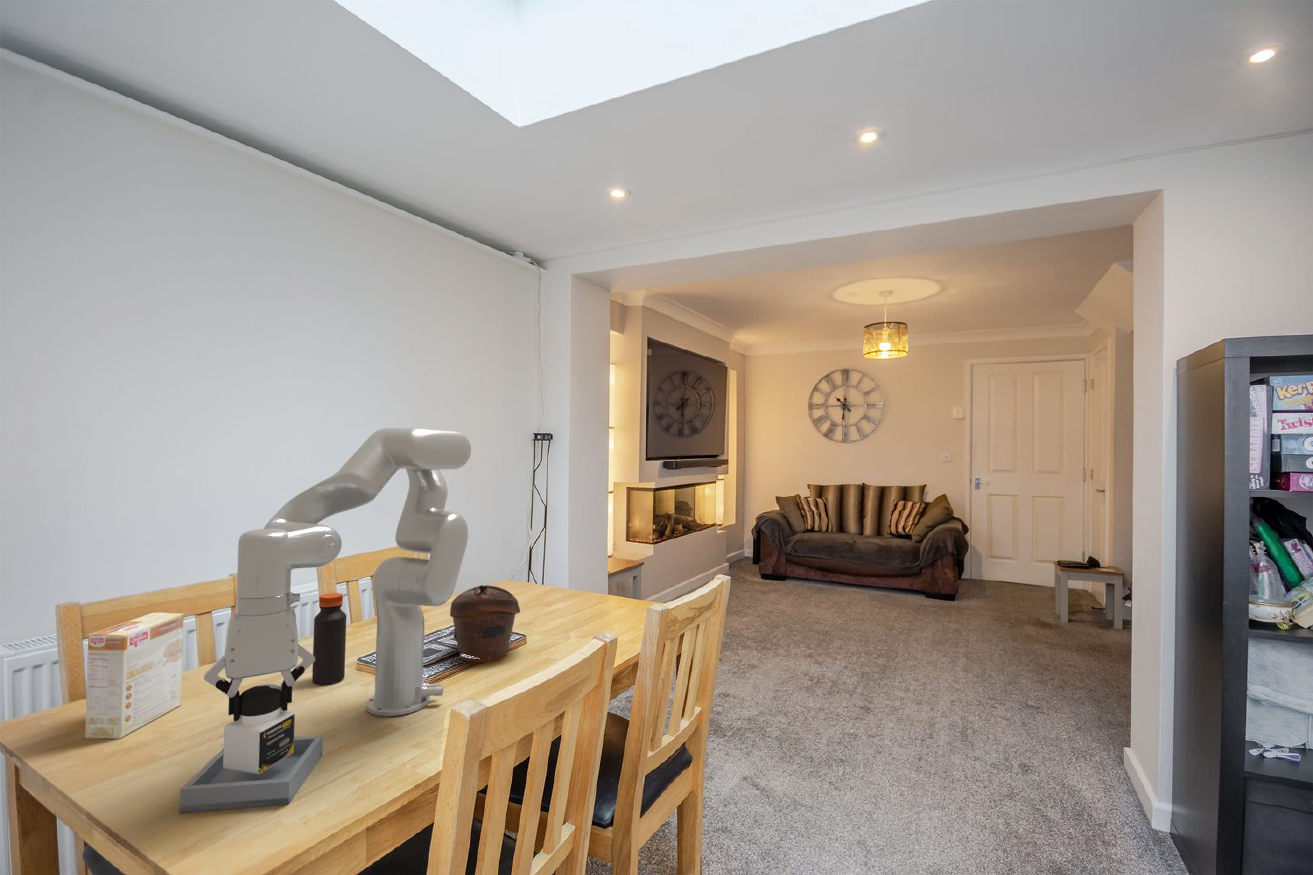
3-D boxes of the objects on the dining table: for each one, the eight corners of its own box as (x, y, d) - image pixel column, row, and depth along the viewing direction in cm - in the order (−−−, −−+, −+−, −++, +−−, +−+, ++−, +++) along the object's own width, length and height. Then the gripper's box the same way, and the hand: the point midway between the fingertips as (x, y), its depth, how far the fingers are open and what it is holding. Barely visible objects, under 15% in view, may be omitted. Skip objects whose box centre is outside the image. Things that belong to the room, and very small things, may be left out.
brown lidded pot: (485, 637, 176) (486, 576, 176) (533, 652, 164) (534, 587, 164) (431, 655, 161) (433, 588, 161) (480, 673, 150) (482, 601, 150)
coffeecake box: (148, 704, 127) (152, 611, 128) (182, 705, 127) (186, 612, 128) (81, 738, 112) (86, 633, 113) (120, 739, 112) (124, 634, 113)
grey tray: (322, 755, 108) (323, 735, 109) (288, 803, 94) (289, 781, 94) (229, 761, 106) (230, 741, 106) (179, 812, 91) (180, 789, 91)
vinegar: (304, 683, 140) (307, 597, 140) (328, 673, 146) (331, 590, 147) (328, 687, 138) (331, 600, 138) (351, 676, 145) (353, 593, 145)
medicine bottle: (259, 775, 96) (261, 699, 96) (221, 769, 97) (223, 695, 97) (294, 752, 103) (296, 682, 103) (259, 747, 104) (261, 678, 104)
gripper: (319, 592, 108) (316, 693, 108) (199, 606, 98) (195, 717, 98) (325, 602, 102) (322, 708, 102) (198, 617, 92) (194, 736, 92)
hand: (260, 711), depth 100 cm, fingers closed on medicine bottle, 6 cm apart
